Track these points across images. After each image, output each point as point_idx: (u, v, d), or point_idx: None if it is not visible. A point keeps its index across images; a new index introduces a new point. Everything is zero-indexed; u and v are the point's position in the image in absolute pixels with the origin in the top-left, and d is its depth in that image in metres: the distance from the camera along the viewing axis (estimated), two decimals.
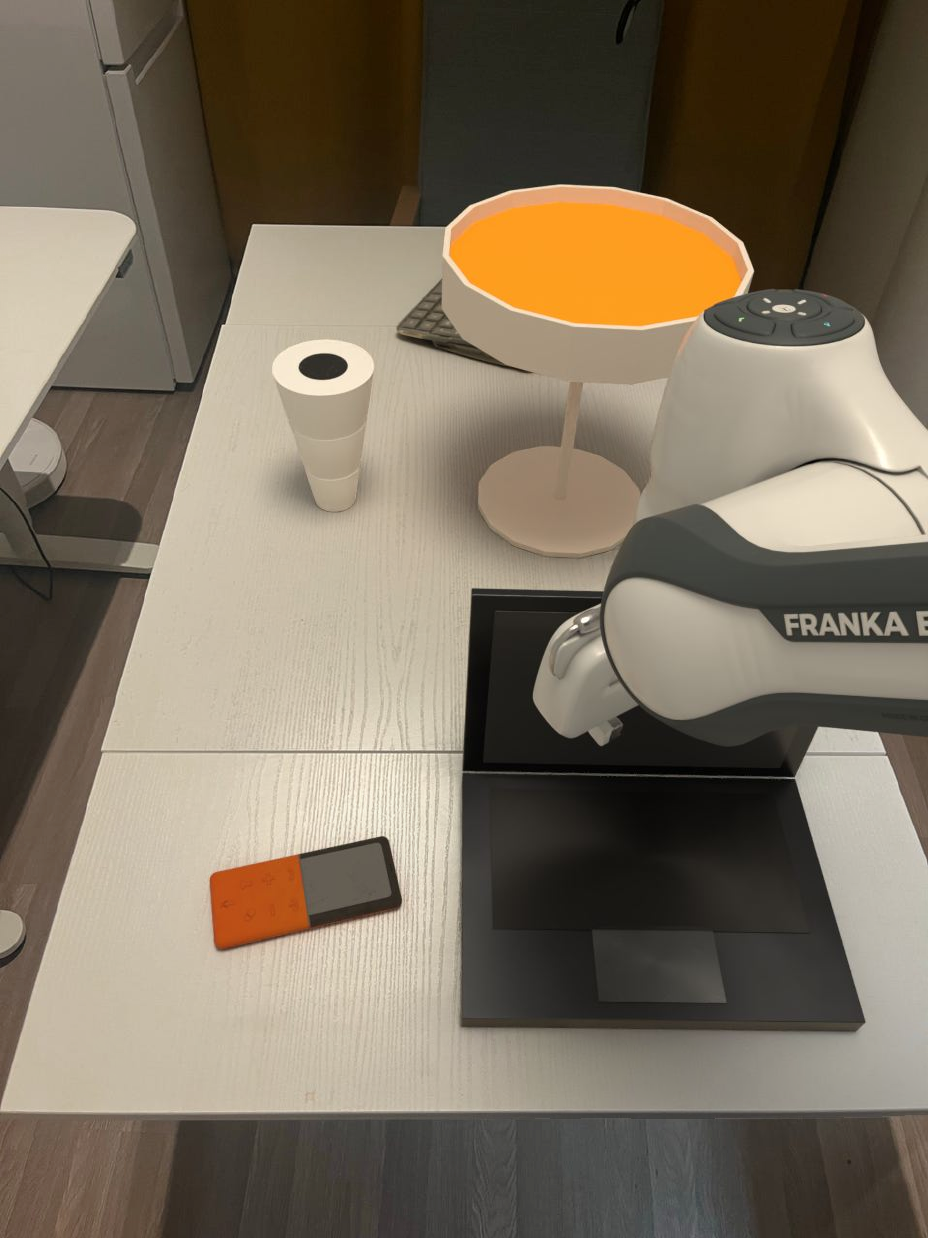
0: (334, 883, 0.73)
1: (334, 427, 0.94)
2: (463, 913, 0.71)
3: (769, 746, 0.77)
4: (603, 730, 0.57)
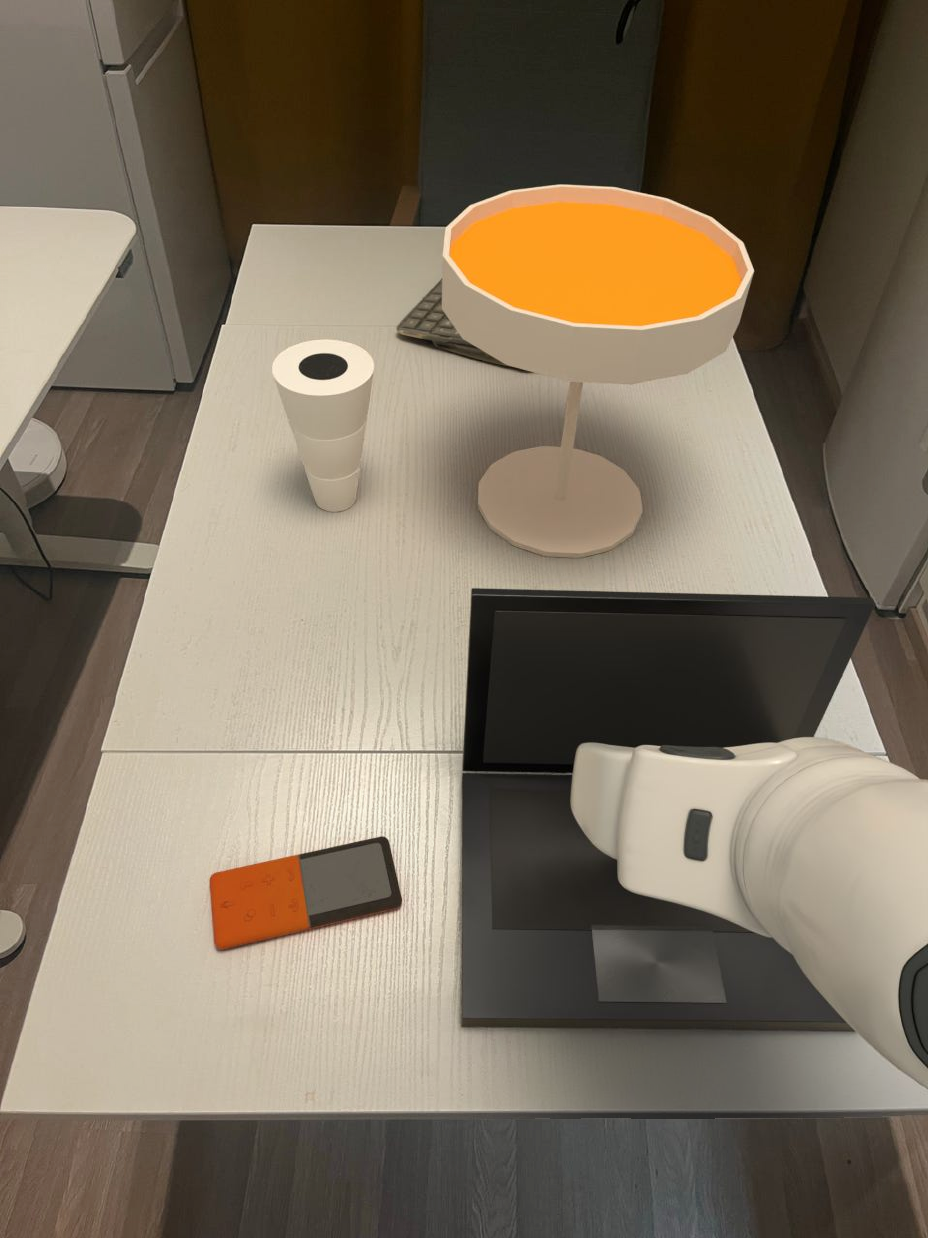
0: (334, 883, 0.73)
1: (334, 427, 0.94)
2: (463, 913, 0.71)
3: None
4: None
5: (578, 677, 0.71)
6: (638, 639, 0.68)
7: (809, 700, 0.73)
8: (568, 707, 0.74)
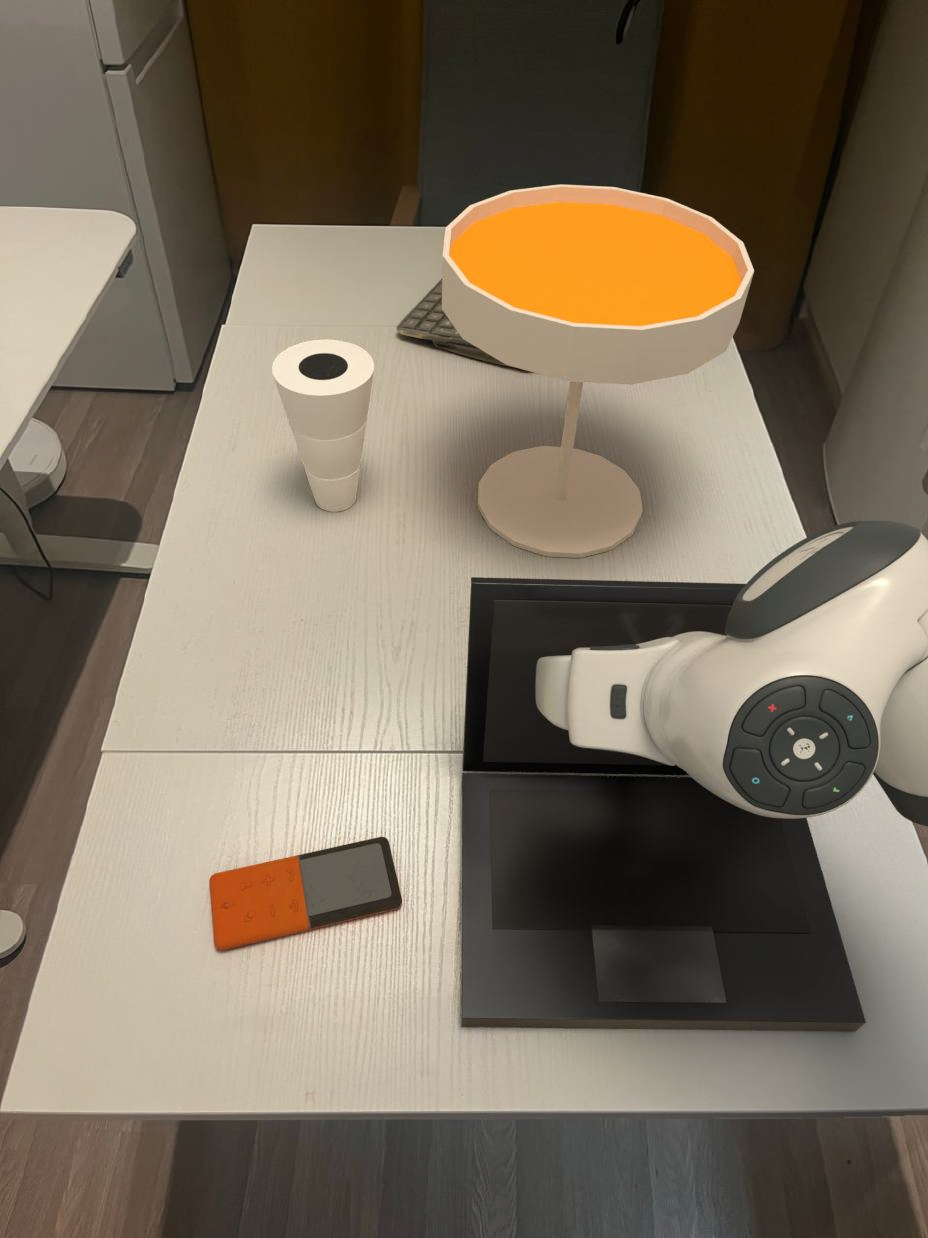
0: (334, 884, 0.73)
1: (334, 427, 0.94)
2: (463, 913, 0.71)
3: None
4: None
5: None
6: (636, 629, 0.69)
7: None
8: None
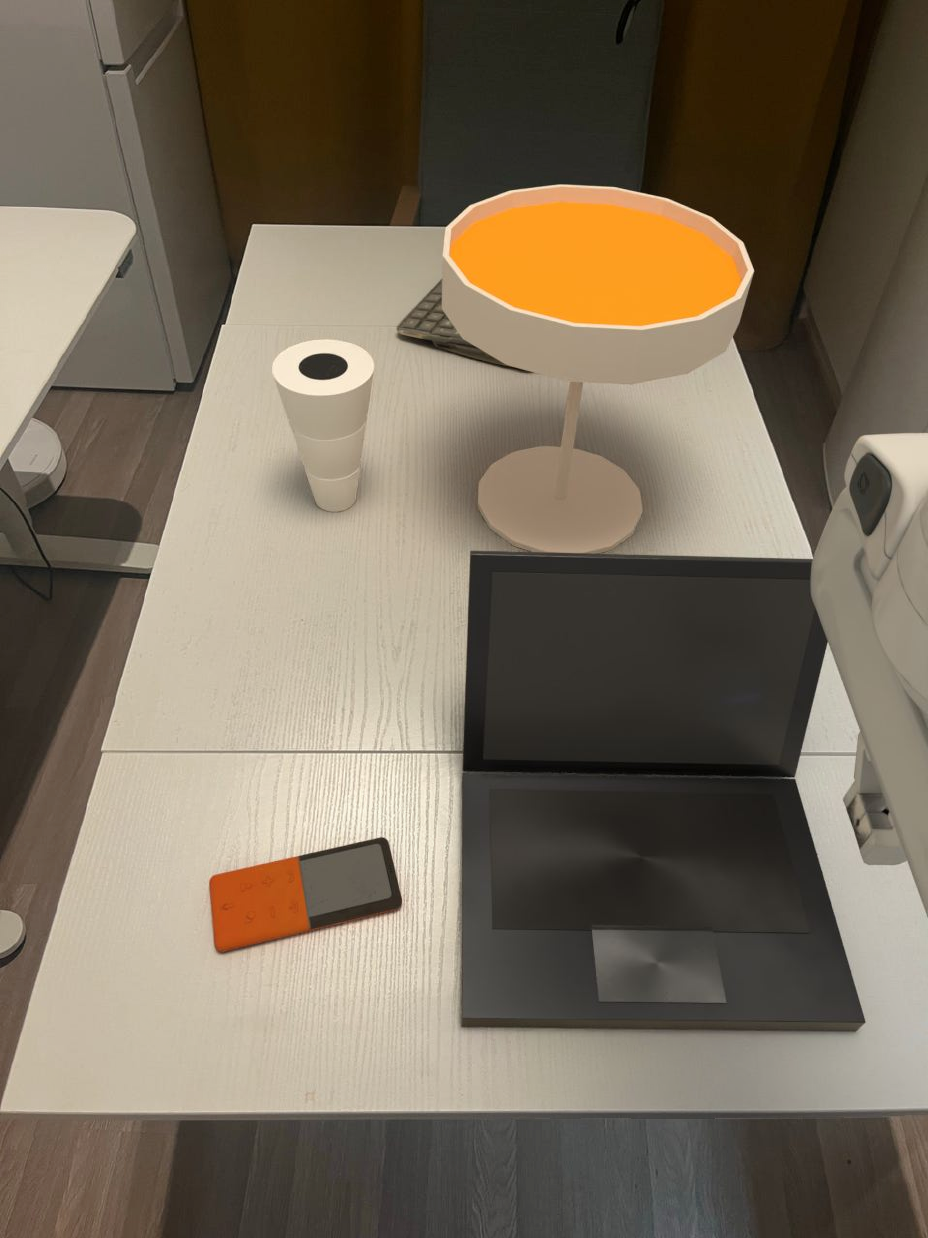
0: (334, 885, 0.73)
1: (334, 427, 0.94)
2: (463, 913, 0.71)
3: (765, 736, 0.78)
4: None
5: (573, 650, 0.74)
6: (628, 604, 0.72)
7: (798, 678, 0.76)
8: (565, 687, 0.76)
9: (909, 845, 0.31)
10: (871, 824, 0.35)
